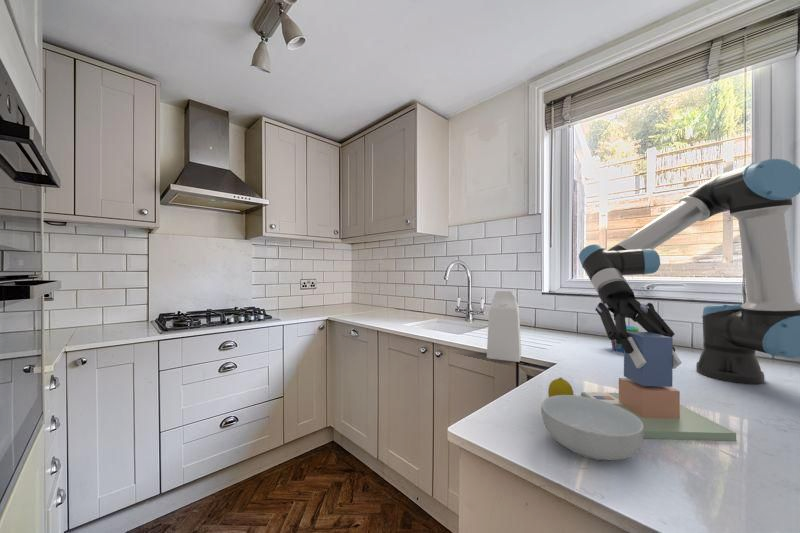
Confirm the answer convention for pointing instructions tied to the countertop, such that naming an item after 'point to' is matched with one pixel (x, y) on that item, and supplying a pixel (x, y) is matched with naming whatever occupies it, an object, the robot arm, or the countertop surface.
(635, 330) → the snack cup
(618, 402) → the baseplate tower
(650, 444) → the countertop surface
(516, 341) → the milk
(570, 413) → the cereal bowl
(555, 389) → the lemon
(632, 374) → the navy brick
